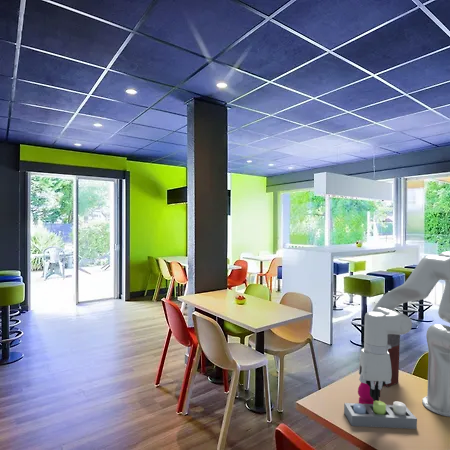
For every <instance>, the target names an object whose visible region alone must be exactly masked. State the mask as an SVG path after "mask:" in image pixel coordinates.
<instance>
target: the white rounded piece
mask: <svg viewBox="0 0 450 450" xmlns="http://www.w3.org/2000/svg"><path fill="white" fill-rule="evenodd" d="M392 405H393V413H394V414H395V415H400V416H406V407H407V405H406V404H405V403H403V402H402V401H398V400H397V401H393V404H392Z"/></svg>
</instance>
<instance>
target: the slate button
mask: <svg viewBox="0 0 450 450" xmlns="http://www.w3.org/2000/svg"><path fill="white" fill-rule="evenodd" d="M353 411H354V413H355V414H366V407H365V406H364V405H362V404H359V403H357V404H354V407H353Z"/></svg>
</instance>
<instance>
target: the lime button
mask: <svg viewBox="0 0 450 450" xmlns="http://www.w3.org/2000/svg"><path fill="white" fill-rule="evenodd" d="M386 405H387V404H386V403H385V402H384V401H381V400H379V401H377V400H376V401H374V402H373V412H374V413H375V414H378V415H386Z"/></svg>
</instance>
